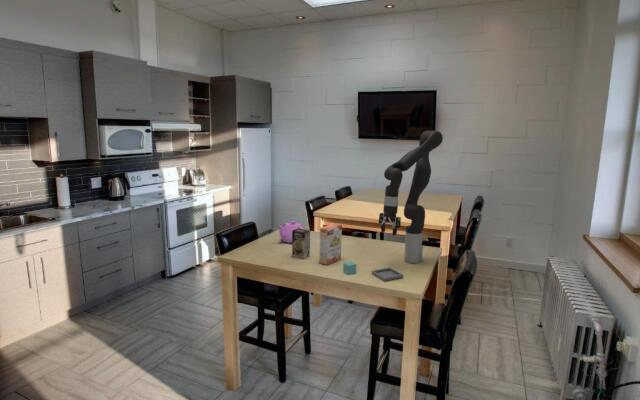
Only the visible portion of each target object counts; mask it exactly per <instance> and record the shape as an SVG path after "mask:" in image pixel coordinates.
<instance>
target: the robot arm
mask: <svg viewBox="0 0 640 400" xmlns="http://www.w3.org/2000/svg"><path fill="white" fill-rule="evenodd" d="M443 139H444V138H443V134H442V133H441V132H440V131H438V130H424V131H423V132H422V134H421V135H420V138H419V142H418V143H419V145H418V147H417V146H416V148H413V149H412V150H410V151H409V152H407V153H406V154H404V155H403V156H402V157H401V158H400V159H399V160H398V161H396V162H394V163H393V164H391V165H389V166H387V168H386V169H385V171H384V172H383V176H384V178H385V180H387V181H390V182H389V184H388V185H386V186H385V190H384V199H383V211H382V212H380V213H379V215H378V216H379V217H378V224H380V225H381V226H380V230H381V233H384V232H386V225H387V224H390V225H391V226H392V234H391V235H392V236H396V235H397V233H398V229H400V228H401V222H402V221H401V220H402V217H401V216H397V214H398V210H399V209H398V207H399V191H400V187H401V184H402V180H403V176H404V175H403V172H407V171H408V170H410V169H411V168H412V167H413V166H414V165H415V168H414V170H413V176H412V179H411V185H410V187H409V193H408V196H407V198H406V199H407V200H406V202H405V203H404V204H405V205H404V209H403V215H404V217H405V218H406V219H407V220H410V221H411V223H410V225H407V226H406V227H405V235H404V236H405V239H404V242H405V243H404V260H403V261H404V262H406V263H408V264H409V263H410V264H419V263H421V262H423V253H424V252H423V251H424V249H423V248H424V245H423V229H424V228H425V220H426V209H425V208H424V207H423V206H422V205H420V204H418V202H419V198H420V196H421V194H422V193H423V192H424V191H425V189H426V188H427V186H428V185H429V183H430V178H431V175H432V166H431V163H430V158H429V157H430V153H431V152H432V151H434V150H435V149H436V148H437V147H439V146H440V145H441V144H442V143H443Z"/></svg>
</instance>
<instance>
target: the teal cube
mask: <svg viewBox="0 0 640 400" xmlns="http://www.w3.org/2000/svg"><path fill="white" fill-rule="evenodd" d="M342 264H343V266H342V272H343V273H344V274H346V275H354V274H357V264H356V263H355V262H353V261H347V262H343V263H342Z"/></svg>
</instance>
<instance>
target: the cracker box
mask: <svg viewBox="0 0 640 400" xmlns="http://www.w3.org/2000/svg"><path fill="white" fill-rule="evenodd" d="M342 231H343V225H342V224H339V223H332V224H331V223H330V224H328V225H325V226H322V227H319V258H318V259H319V261H318V262H319V264H322V265H325V266H329V265H330V264H332V263H335V262H338V261H339V260H341V259H342V236H343V234H342Z"/></svg>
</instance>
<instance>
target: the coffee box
mask: <svg viewBox="0 0 640 400" xmlns="http://www.w3.org/2000/svg"><path fill="white" fill-rule="evenodd" d="M291 246H292V247H291V249H292V250H291V251H292V254H291V255H292V257H293V258H294V257H295V258H297V259H298V258H299V259H301V260H302V259H303V260H305V259H307V258H310V257H311V230H310V229H309V230H308V229H305V228H304V229H295V230H292V243H291Z"/></svg>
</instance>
